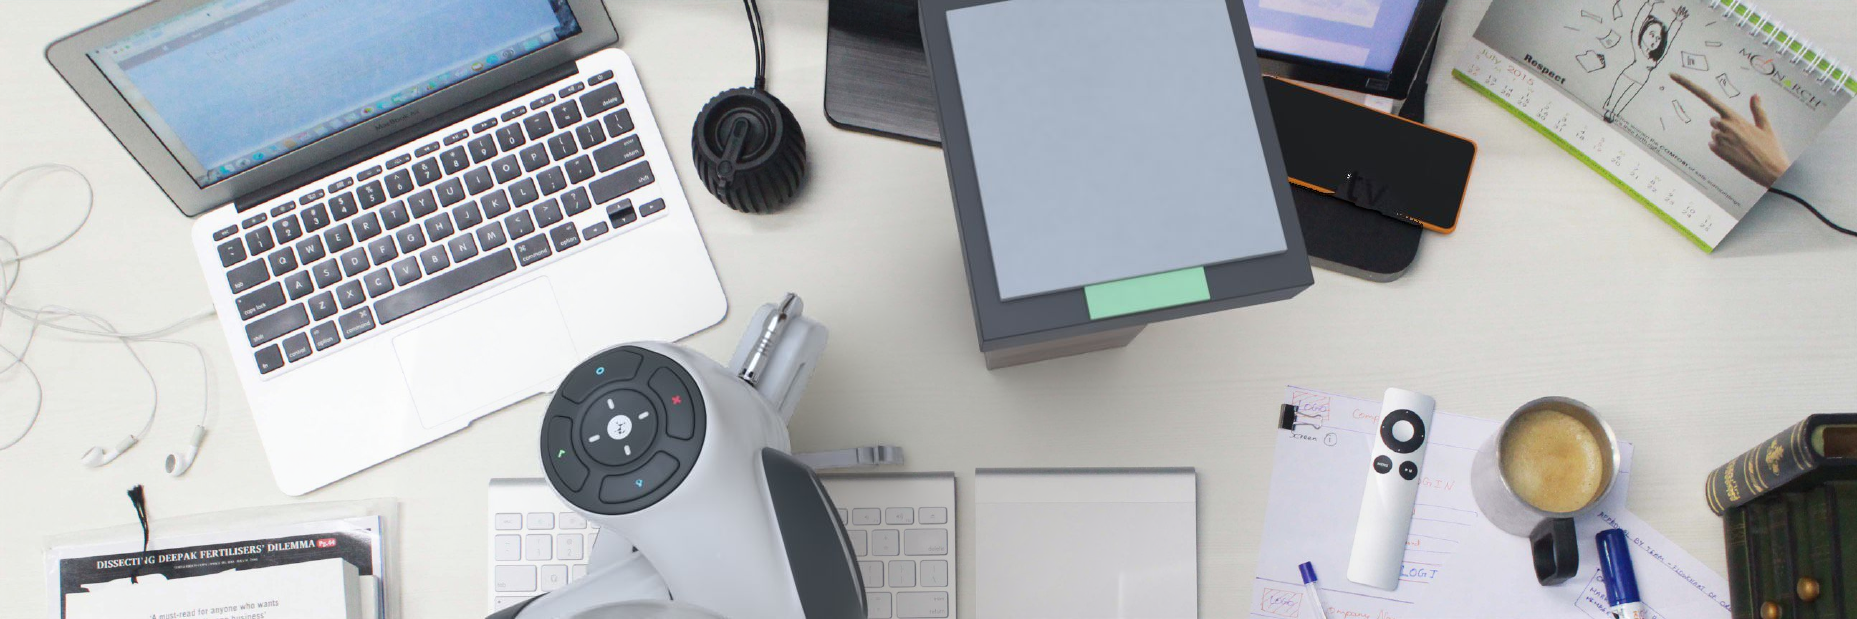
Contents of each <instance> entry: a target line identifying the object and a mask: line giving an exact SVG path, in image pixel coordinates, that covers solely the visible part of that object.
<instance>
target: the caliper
mask: <svg viewBox="0 0 1857 619" xmlns="http://www.w3.org/2000/svg"><path fill="white" fill-rule="evenodd" d="M903 453H904V452H903V448H902V446H898V445H879V444H878V445H877V444H876V445H873V446H858V447H857V448H848V449H847V448H846V449H836V450H826V451H825V450H824V451H816V452H815V451H814V452H803V453H793V454H792V453H791V456H792V457H794V458H795V459H797V460H799V461H801V462H802V463H804V464H806V465H807V466H809V467H810V468H811V469H812V470H813V471H816V470H830V469H837V468H847V467H848V468H849V467H851V468H852V467H854V468H855V467H856V468H859V467H861V468H864V467H865V468H873V467H875V468H876V467H879V464H885V465H886V464H889V465H896V466H898V465H904V454H903Z"/></svg>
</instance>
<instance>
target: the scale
mask: <svg viewBox="0 0 1857 619" xmlns="http://www.w3.org/2000/svg"><path fill="white" fill-rule="evenodd" d="M917 7H918V23H919V29H920V34H921V39H922V45H923V46H922V47H923V50H924V57H925V61H926V66H927V72H928V78H929V83H930V88H931V94H932V100H933V104H934V110H935V115H936V121H937V126H938V132H939V137H940V142H941V147H942V154H943V158H944V163H945V169H946V174H947V179H948V185H949V191H950V196H951V201H952V207H953V213H954V218H955V223H956V228H957V232H958V238H959V239H958V240H959V244H960V249H961V250H960V251H961V256H962V260H963V266H964V272H965V276H966V283H967V286H968V294H969V298H970V304H971V309H972V314H973V319H974V324H975V331H976V335H977V336H976V337H977V340H978V347H979V352H980V353H983V354H984V352H989V351H995V350H1001V349H1007V348H1012V347H1018V346H1024V345H1030V344H1035V343H1041V342H1047V341H1052V340H1058V339H1064V338H1070V337H1075V336H1081V335H1087V334H1093V333H1098V332H1104V331H1110V330H1116V329H1121V328H1127V327H1133V326H1139V325H1144V324H1148V325H1150V324H1155V323H1162V322H1166V321H1173V320H1179V319H1185V318H1190V317H1196V316H1200V315H1201V316H1202V315H1207V314H1212V313H1219V312H1224V311H1229V310H1235V309H1242V308H1247V307H1253V306H1259V305H1265V304H1269V303H1276V302H1282V301H1287V300H1292V299H1293V298H1295V297H1297V296H1299V295H1300V294H1302V293H1303V292H1304V291H1306V290H1307V289H1309V288H1310V287H1312V286H1313V285H1315V282H1316V281H1315V278H1314V274H1313V270H1312V266H1311V262H1310V258H1309V255H1308V250H1307V247H1306V242H1305V238H1304V235H1303V231H1302V227H1301V223H1300V220H1299V216H1298V211H1297V206H1296V203H1295V198H1294V196H1293V191H1292V187H1291V183H1289V179H1288V175H1287V171H1286V167H1285V164H1284V160H1283V156H1282V152H1281V148H1280V144H1279V140H1278V136H1277V132H1276V128H1275V124H1274V120H1273V116H1272V113H1271V109H1270V105H1269V101H1268V97H1267V93H1266V89H1265V85H1264V81H1263V77H1262V73H1263V72H1262V70H1261V66H1260V62H1259V57H1258V53H1257V49H1256V46H1255V43H1254V42H1255V41H1254V38H1253V34H1252V30H1251V27H1250V22H1249V19H1248V16H1247V11H1246V8H1245V3H1244V0H917Z"/></svg>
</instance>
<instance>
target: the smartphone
mask: <svg viewBox="0 0 1857 619" xmlns="http://www.w3.org/2000/svg"><path fill="white" fill-rule="evenodd" d="M1262 77H1263V81H1264V85H1265V89H1266V93H1267V97H1268V101H1269V105H1270V109H1271V113H1272V116H1273V120H1274V124H1275V128H1276V132H1277V136H1278V140H1279V144H1280V148H1281V152H1282V156H1283V160H1284V164H1285V167H1286V171H1287V175H1288V179H1289V182H1291V183H1290V184H1292V183H1294V184H1293V185H1295V184H1297V185H1296V186H1298V185H1301V186H1305V187H1307V188H1312V189H1313V190H1317V191H1319V192H1323V193H1335V191H1334V189H1336V187H1335V186H1337V187H1339V186H1338V185H1341V184H1342V185H1345V184H1344V183H1345V182H1346V181H1348V179H1347V177H1349V176H1348V174H1349V175H1350V173H1349V172H1352V171H1353V172H1356V171H1355V170H1357V171H1359V170H1360V171H1362V172H1363V173H1365V172H1367V174H1370V173H1371V174H1370V177H1372V179H1371V178H1370V177H1369V176H1368V175H1367V174H1366V173H1365V175H1366V177H1369V179H1370V180H1372V182H1374V181H1373V180H1375V178H1376V180H1377V181H1379V182H1380V183H1381V184H1382V185H1384V184H1383V183H1385V185H1388V184H1389V185H1390V186H1391V187H1392V189H1393V190H1394V191H1395V192H1394V191H1393V190H1392V189H1391V188H1390V187H1389V185H1388V187H1389V188H1390V191H1392V192H1393V194H1392V193H1391V192H1390V191H1389V192H1390V193H1391V194H1392V195H1393V196H1394V195H1395V196H1396V198H1398V200H1399V201H1400V202H1401V203H1400V202H1399V201H1398V200H1397V199H1396V198H1395V200H1397V201H1398V204H1400V207H1403V206H1404V207H1405V208H1406V209H1405V208H1404V207H1403V210H1405V213H1408V216H1407V215H1406V214H1405V213H1404V211H1403V210H1402V209H1401V208H1400V207H1399V205H1398V204H1397V203H1396V202H1395V201H1394V203H1396V205H1397V206H1398V207H1399V210H1401V211H1402V212H1403V213H1404V215H1406V218H1408V217H1410V220H1413V219H1414V221H1416V222H1418V221H1419V223H1420V224H1421V223H1422V224H1423V227H1422V228H1425V229H1428V230H1431V231H1434V232H1437V233H1440V234H1443V235H1449V234H1452V233H1454V232H1455V230H1456V229H1457V226H1458V222H1459V218H1460V215H1461V211H1462V207H1463V203H1464V200H1465V196H1466V193H1467V190H1468V186H1469V182H1470V178H1471V174H1472V172H1473V167H1474V164H1475V160H1476V156H1477V153H1478V145H1477V143H1476V142H1475V141H1474V140H1472V139H1470V138H1466V137H1464V136H1460V135H1458V134H1454V133H1451V132H1448V131H1445V130H1441V129H1439V128H1436V127H1432V126H1430V125H1426V124H1423V123H1420V122H1417V121H1413V120H1411V119H1407V118H1405V117H1402V116H1398V115H1396V114H1392V113H1389V112H1386V111H1383V110H1379V109H1377V108H1373V107H1371V106H1367V105H1364V104H1361V103H1359V102H1356V101H1352V100H1349V99H1345V98H1343V97H1340V96H1337V95H1334V94H1330V93H1327V92H1325V91H1321V90H1318V89H1316V88H1312V87H1309V86H1306V85H1302V84H1300V83H1297V82H1293V81H1291V80H1287V79H1284V78H1281V77H1278V78H1275V77H1276V76H1275V77H1271V76H1264V75H1262ZM1357 168H1358V169H1357ZM1361 168H1362V169H1361ZM1354 169H1355V170H1354ZM1363 170H1365V172H1364V171H1363ZM1367 170H1368V171H1367ZM1360 171H1359V172H1360ZM1353 172H1352V173H1353ZM1369 172H1370V173H1369ZM1374 173H1375V175H1374ZM1358 175H1359V174H1358ZM1362 175H1363V174H1362ZM1372 175H1373V176H1374V177H1373V176H1372ZM1363 176H1364V175H1363ZM1376 176H1377V177H1376ZM1366 177H1365V179H1367V178H1366ZM1379 179H1380V180H1379ZM1367 180H1368V179H1367ZM1376 180H1375V182H1377V181H1376ZM1360 181H1361V180H1360ZM1364 181H1365V180H1364ZM1343 182H1344V183H1343ZM1368 182H1370V181H1369V180H1368ZM1382 182H1383V183H1382ZM1346 183H1347V182H1346ZM1370 183H1371V182H1370ZM1377 183H1378V182H1377ZM1387 183H1388V184H1387ZM1374 184H1375V183H1374ZM1391 184H1392V185H1393V186H1392V185H1391ZM1342 185H1341V186H1342ZM1372 185H1373V184H1372ZM1378 185H1380V184H1379V183H1378ZM1385 185H1384V187H1386V186H1385ZM1301 186H1300V187H1301ZM1342 187H1343V186H1342ZM1380 187H1382V186H1381V185H1380ZM1307 188H1306V189H1307ZM1386 188H1387V187H1386ZM1340 189H1341V188H1340ZM1313 190H1312V191H1313ZM1337 190H1338V189H1337ZM1387 190H1388V188H1387ZM1319 192H1318V193H1319ZM1385 192H1386V190H1385ZM1386 193H1387V192H1386ZM1396 193H1397V194H1396ZM1388 195H1389V194H1388ZM1397 195H1399V197H1400V198H1399V197H1398V196H1397ZM1395 196H1394V197H1395ZM1390 197H1391V196H1390ZM1391 198H1392V197H1391ZM1401 199H1402V200H1401ZM1393 200H1394V199H1393ZM1390 202H1392V201H1391V200H1390ZM1403 202H1405V204H1404V203H1403ZM1385 204H1386V203H1385ZM1389 204H1390V203H1389ZM1401 204H1403V206H1402V205H1401ZM1386 205H1387V204H1386ZM1393 205H1394V204H1393ZM1406 205H1407V206H1406ZM1394 206H1395V205H1394ZM1381 208H1382V207H1381ZM1388 208H1389V207H1388ZM1392 208H1393V207H1392ZM1385 209H1386V207H1385ZM1389 209H1390V208H1389ZM1393 209H1394V208H1393ZM1395 209H1396V210H1398V208H1397V207H1396V206H1395ZM1395 209H1394V210H1395ZM1390 210H1391V209H1390ZM1396 210H1395V212H1396ZM1399 210H1398V212H1400V211H1399ZM1406 210H1408V212H1407V211H1406ZM1391 211H1392V210H1391ZM1412 213H1413V214H1412ZM1397 215H1398V213H1397ZM1400 215H1402V213H1401V212H1400ZM1410 215H1411V216H1410ZM1417 220H1418V221H1417Z"/></svg>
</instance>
